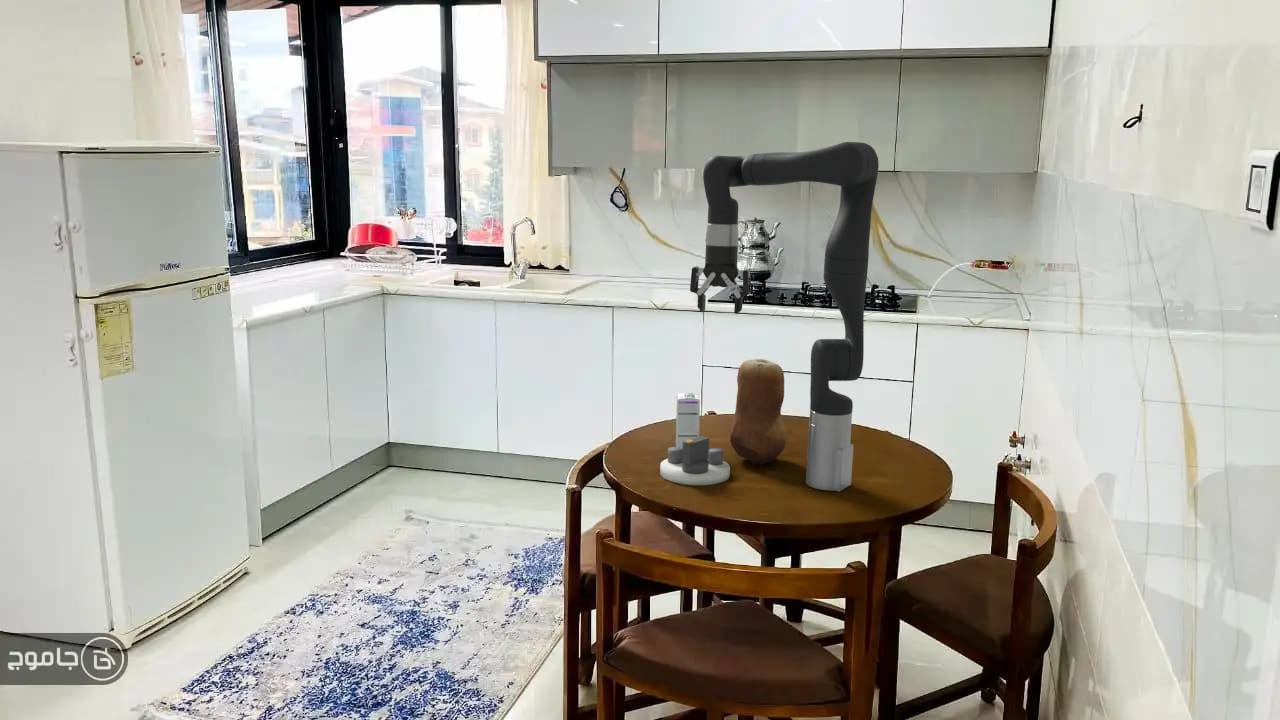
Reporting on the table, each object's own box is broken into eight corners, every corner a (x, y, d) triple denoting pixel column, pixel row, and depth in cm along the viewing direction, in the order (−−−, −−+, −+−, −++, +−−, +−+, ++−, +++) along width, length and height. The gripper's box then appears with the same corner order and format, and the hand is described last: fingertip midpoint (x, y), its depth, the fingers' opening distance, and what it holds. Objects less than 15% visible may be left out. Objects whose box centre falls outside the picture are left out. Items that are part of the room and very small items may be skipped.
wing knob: (694, 463, 220) (695, 433, 218) (715, 469, 216) (716, 438, 214) (675, 470, 214) (676, 439, 213) (695, 476, 211) (697, 444, 209)
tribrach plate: (742, 472, 221) (743, 452, 220) (705, 490, 208) (705, 468, 207) (685, 459, 230) (686, 439, 229) (646, 475, 217) (646, 454, 216)
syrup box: (699, 456, 233) (701, 398, 230) (675, 455, 233) (676, 398, 230) (698, 449, 238) (700, 393, 236) (674, 448, 239) (676, 392, 236)
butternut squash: (791, 457, 233) (797, 358, 228) (776, 473, 221) (781, 368, 216) (738, 450, 239) (742, 352, 234) (720, 464, 227) (723, 362, 222)
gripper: (755, 243, 222) (752, 312, 225) (698, 241, 227) (695, 308, 230) (747, 246, 215) (744, 316, 218) (687, 243, 220) (685, 312, 223)
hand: (719, 312), depth 224 cm, fingers open, 8 cm apart
